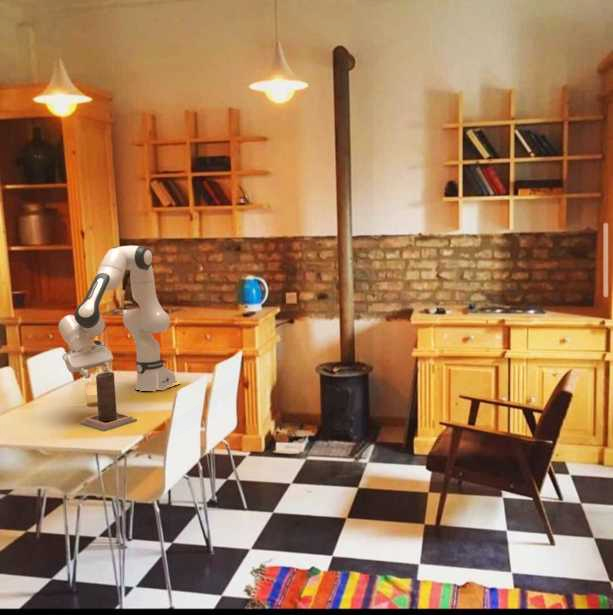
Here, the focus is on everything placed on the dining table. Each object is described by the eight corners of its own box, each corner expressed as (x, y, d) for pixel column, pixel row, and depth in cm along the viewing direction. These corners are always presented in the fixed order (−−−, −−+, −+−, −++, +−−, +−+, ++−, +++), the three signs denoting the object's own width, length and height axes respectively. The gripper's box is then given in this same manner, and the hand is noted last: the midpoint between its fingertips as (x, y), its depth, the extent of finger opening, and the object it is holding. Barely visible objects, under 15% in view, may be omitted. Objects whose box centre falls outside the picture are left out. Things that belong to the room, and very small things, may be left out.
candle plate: (113, 414, 294) (112, 409, 294) (136, 421, 284) (136, 415, 284) (80, 424, 282) (80, 418, 281) (104, 431, 272) (103, 425, 271)
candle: (113, 423, 279) (110, 375, 276) (95, 423, 279) (92, 375, 276) (119, 417, 286) (116, 370, 284) (102, 417, 287) (99, 371, 284)
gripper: (63, 349, 278) (79, 375, 274) (105, 340, 294) (121, 365, 290) (57, 358, 282) (73, 385, 277) (100, 349, 298) (115, 374, 293)
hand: (98, 374), depth 284 cm, fingers open, 8 cm apart
